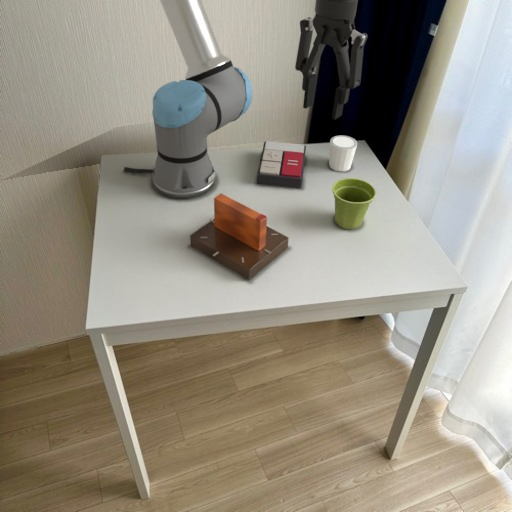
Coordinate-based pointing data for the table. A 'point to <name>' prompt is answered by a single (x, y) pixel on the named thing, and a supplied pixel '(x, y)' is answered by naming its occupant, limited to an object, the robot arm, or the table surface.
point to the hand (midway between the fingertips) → (322, 111)
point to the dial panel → (238, 249)
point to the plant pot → (352, 201)
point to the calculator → (282, 164)
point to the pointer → (240, 221)
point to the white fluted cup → (342, 152)
